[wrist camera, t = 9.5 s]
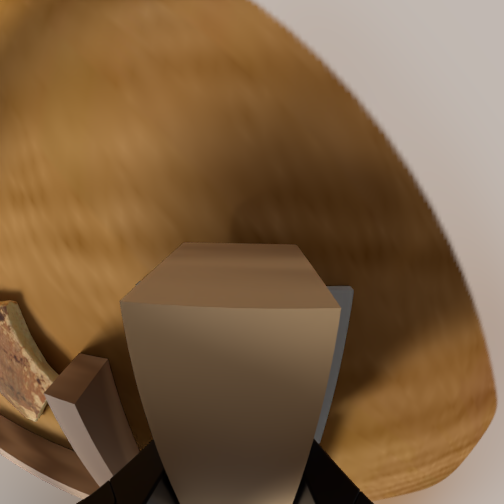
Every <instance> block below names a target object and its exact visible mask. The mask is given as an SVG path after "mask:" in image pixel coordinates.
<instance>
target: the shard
mask: <svg viewBox="0 0 504 504" xmlns="http://www.w3.org/2000/svg"><path fill="white" fill-rule="evenodd" d="M58 376H59V375H58V374H57V373H56V372H55V371H54V370H53V369H52V368H51V367H50V365H49V364H48V363H47V362H46V360H45V358H44V356H43V355H42V353H41V352H40V350H39V349H38V347H37V345H36V343H35V341H34V340H33V338H32V336H31V334H30V332H29V330H28V327H27V325H26V323H25V320H24V318H23V316H22V313H21V310H20V308H19V306H18V303H17V302H16V301H12V300H7V301H0V393H1V394H2V395H3V396H4V397H5V398H6V399H7V400H8V401H9V402H10V403H11V404H12V405H13V406H14V407H15V408H16V409H17V410H18V411H19V412H20V413H21V414H22V415H23V416H24V417H25V418H28V419H30V420H32V421H38V419H39V418H40V416H41V415H42V413H43V410H44V408H45V406H46V405H47V403H48V402H47V400H46V398H45V395H44V392H45V391H46V390H47V389H48V387H49V386H50V385H51V384H52V383H53V382H54V381H55V380H56V378H57V377H58Z"/></svg>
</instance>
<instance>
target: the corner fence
mask: <svg viewBox="0 0 504 504" xmlns="http://www.w3.org/2000/svg"><path fill="white" fill-rule="evenodd" d="M44 395H45V398H46V400H47V402H48V404H49V406H50V408H51V410H52V412H53V414H54V416H55V418H56V420H57V421H58V423H59V425H60V427H61V429H62V430H63V432H64V434H65V436H66V437H67V439H68V441H69V442H70V444H71V446H72V447H73V449H74V450H75V451H72V450H70V449H67V448H65V447H62V446H60V445H58V444H55V443H53V442H51V441H49V440H46V439H44V438H42V437H40V436H38V435H36V434H34V433H32V432H30V431H28V430H26V429H24V428H22V427H21V426H19V425H17V424H15V423H13V422H12V421H10V420H8V419H6V418H5V417H3V416H1V415H0V454H1V455H2V456H4V457H5V458H7V459H8V460H10V461H11V462H13V463H14V464H16V465H18V466H19V467H21V468H22V469H24V470H26V471H27V472H29V473H31V474H33V475H34V476H36V477H38V478H40V479H42V480H44V481H45V482H47V483H49V484H51V485H53V486H55V487H57V488H59V489H61V490H63V491H66V492H68V493H70V494H72V495H74V496H77V497H79V498H81V499H85V498H86V497H88V496H89V495H91V494H92V493H93V492H94V491H96V490H97V489H98V488H100V487H101V486H102V485H103V484H104V483H105V482H107V481H108V480H109V481H110V478H111V477H113V476H114V475H115V474H116V473H117V472H118V471H119V470H121V469H122V468H123V467H124V466H125V465H126V464H127V463H128V462H129V461H131V460H132V459H133V458H134V457H135V456H136V455H137V454H138V453H139V452H140V451H139V449H138V447H137V444H136V442H135V439H134V437H133V435H132V432H131V429H130V427H129V424H128V421H127V419H126V416H125V413H124V410H123V407H122V404H121V402H120V398H119V395H118V392H117V389H116V386H115V383H114V379H113V376H112V372H111V369H110V365H109V361H108V359H106V358H100V357H95V356H90V355H86V354H81V353H79V354H78V355H77V356H76V357H75V358H74V359H73V361H72V362H71V363H70V364H69V365H68V366H67V367H66V368H65V369H64V371H63V372H62V373H61V374H60V375H59V376H58V377H57V378H56V380H55V381H54V382H53V383H52V384H51V385H50V386H49V387H48V389H47V390H46V391H45V392H44Z"/></svg>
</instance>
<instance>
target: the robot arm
mask: <svg viewBox="0 0 504 504" xmlns="http://www.w3.org/2000/svg"><path fill="white" fill-rule="evenodd" d="M77 504H180V502H179V500H178V498H177V496H176V494H175V492H174V489H173V487H172V485H171V483H170V480H169V478H168V476H167V473H166V471H165V468H164V466H163V463H162V461H161V458H160V456H159V453H158V450H157V448H156V445H155V442H154V439H153V440H152V441H151V442H150V443H149V444H148V445H147V446H146V447H145V448H144V449H142V450H141V451H140V452H139V453H138V454H137V455H136V456H135V457H134V458H133V459H132V460H131V461H129V462H128V463H127V464H126V465H125V466H124V467H123V468H122V469H121V470H119V471H118V472H117V473H116V474H115V475H114V476H113V477H111V478H110V481H109V480H108V481H107V482H105V483H104V484H103V485H102V486H101V487H100V488H98V489H97V490H96V491H94V492H93V493H92V494H91V495H89V496H88V497H86V498H85V499H83V500H81V501H80V502H78V503H77ZM293 504H374V503H373V502H372V501H370V500H369V499H368V498H367V497H366V496H365V494H364V493H363V492H361V491H360V489H359V488H358V487H357V486H356V485H355V484H354V483H353V482H352V481H351V480H350V479H349V478H348V476H347V475H346V474H345V473H344V472H343V471H342V470H341V469H340V468H339V467H338V465H337V464H336V463H335V462H334V461H333V460H332V459H331V458H330V456H329V455H328V454H327V453H326V452H325V451H324V450H323V448H322V447H321V446H320V445H319V444H318V443H317V441H316V440H315V439H313V443H312V446H311V450H310V453H309V456H308V459H307V463H306V466H305V469H304V472H303V475H302V478H301V481H300V484H299V487H298V490H297V493H296V495H295V498H294V501H293Z"/></svg>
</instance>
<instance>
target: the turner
mask: <svg viewBox="0 0 504 504" xmlns="http://www.w3.org/2000/svg"><path fill="white" fill-rule="evenodd" d="M120 306H121V312H122V318H123V324H124V329H125V335H126V340H127V345H128V349H129V354H130V359H131V363H132V367H133V371H134V375H135V379H136V383H137V387H138V391H139V394H140V398H141V401H142V405H143V408H144V412H145V415H146V418H147V421H148V424H149V427H150V430H151V433H152V436H153V439H154V442H155V445H156V448H157V450H158V453H159V456H160V458H161V461H162V463H163V466H164V468H165V471H166V473H167V476H168V478H169V480H170V483H171V485H172V487H173V489H174V492H175V494H176V496H177V498H178V500H179V502H180V504H293V501H294V498H295V495H296V493H297V490H298V487H299V484H300V481H301V478H302V475H303V472H304V469H305V466H306V463H307V459H308V456H309V453H310V450H311V446H312V443H313V439H314V436H315V432H316V428H317V425H318V421H319V417H320V413H321V409H322V405H323V401H324V396H325V392H326V388H327V383H328V379H329V374H330V369H331V364H332V359H333V354H334V349H335V343H336V338H337V332H338V326H339V320H340V313H341V307H340V305H339V304H338V302H337V301H336V300H335V298H334V297H333V295H332V294H331V292H330V291H329V289H328V288H327V287H326V285H325V284H324V282H323V281H322V279H321V278H320V277H319V275H318V274H317V272H316V271H315V270H314V268H313V267H312V265H311V264H310V263H309V261H308V260H307V258H306V257H305V256H304V254H303V253H302V251H301V250H300V249H299V247H298V246H297V245H294V244H249V243H193V242H184V243H182V244H181V245H180V246H179V247H178V248H177V249H176V250H175V251H173V252H172V253H171V254H170V255H169V256H168V257H167V258H166V259H165V260H163V261H162V262H161V263H160V264H159V265H158V266H157V267H156V268H155V269H154V270H152V271H151V272H150V273H149V274H148V275H147V276H146V277H145V278H144V279H143V280H142V281H141V282H139V283H138V284H137V285H136V286H135V287H134V288H133V289H132V290H131V291H130V292H129V293H128V294H127V295H126V296H125V297H124V298H123V299H122V300H120Z"/></svg>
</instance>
